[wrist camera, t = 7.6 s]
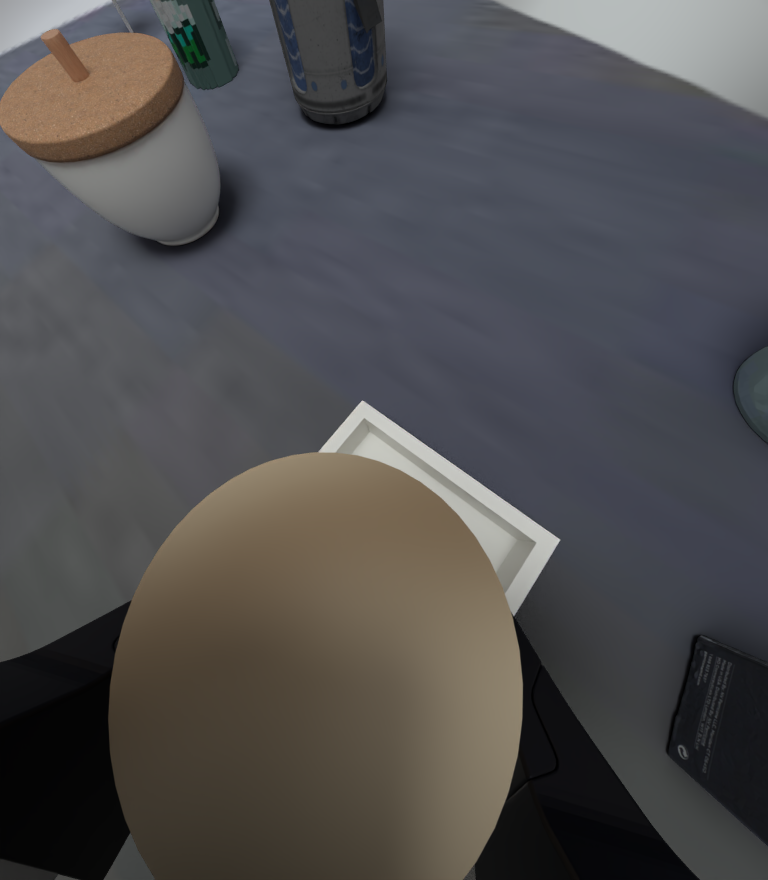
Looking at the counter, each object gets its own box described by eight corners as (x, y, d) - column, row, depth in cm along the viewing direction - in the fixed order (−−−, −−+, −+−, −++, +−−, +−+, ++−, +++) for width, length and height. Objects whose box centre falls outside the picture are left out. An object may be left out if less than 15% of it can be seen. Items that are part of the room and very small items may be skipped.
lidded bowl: (131, 189, 30) (-18, 8, 19) (245, 165, 30) (155, -34, 19) (116, 279, 26) (-79, 115, 16) (246, 253, 26) (135, 66, 15)
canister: (456, 589, 15) (624, 808, 3) (353, 641, 14) (144, 1085, 3) (406, 486, 17) (403, 398, 5) (313, 531, 16) (88, 543, 5)
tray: (529, 536, 17) (560, 539, 14) (404, 735, 15) (403, 798, 11) (369, 421, 20) (362, 400, 17) (245, 570, 18) (208, 581, 14)
